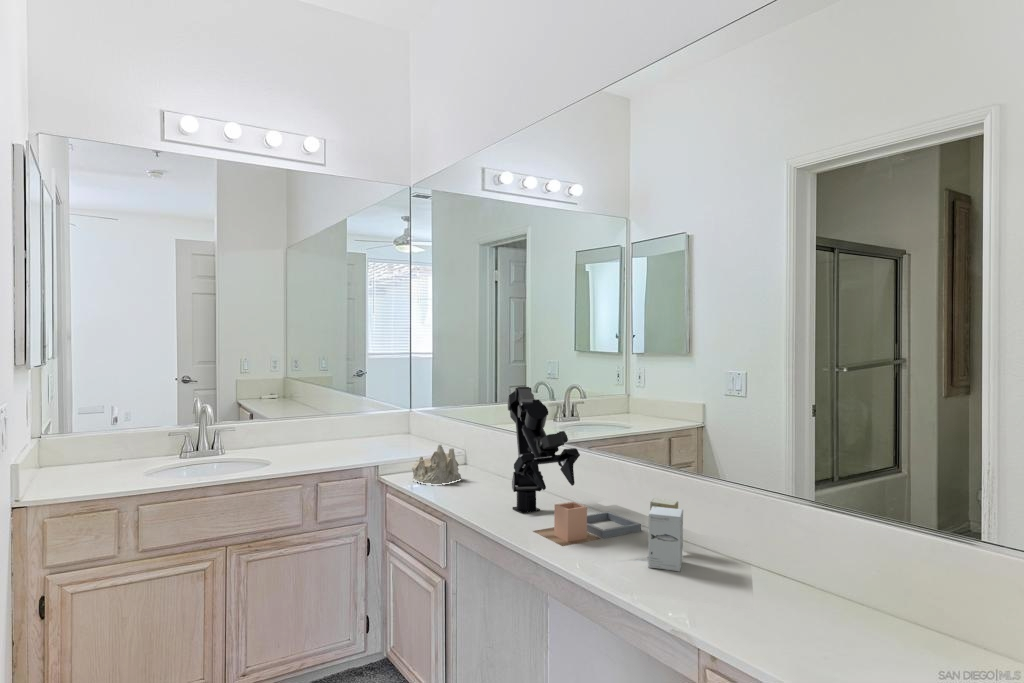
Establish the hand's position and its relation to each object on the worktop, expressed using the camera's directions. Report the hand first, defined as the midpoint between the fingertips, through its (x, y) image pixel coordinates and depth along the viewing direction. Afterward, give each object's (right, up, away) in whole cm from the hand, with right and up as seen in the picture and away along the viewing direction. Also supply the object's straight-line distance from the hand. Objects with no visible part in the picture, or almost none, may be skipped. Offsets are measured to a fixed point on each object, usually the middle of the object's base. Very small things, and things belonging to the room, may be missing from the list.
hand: (559, 486), depth 164 cm
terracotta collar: (+2, -12, -5) cm, 13 cm away
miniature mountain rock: (-41, -14, +66) cm, 79 cm away
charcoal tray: (+13, -13, +3) cm, 19 cm away
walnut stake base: (+1, -13, -3) cm, 14 cm away
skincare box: (+25, -13, -10) cm, 30 cm away
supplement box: (+23, -13, -21) cm, 34 cm away
